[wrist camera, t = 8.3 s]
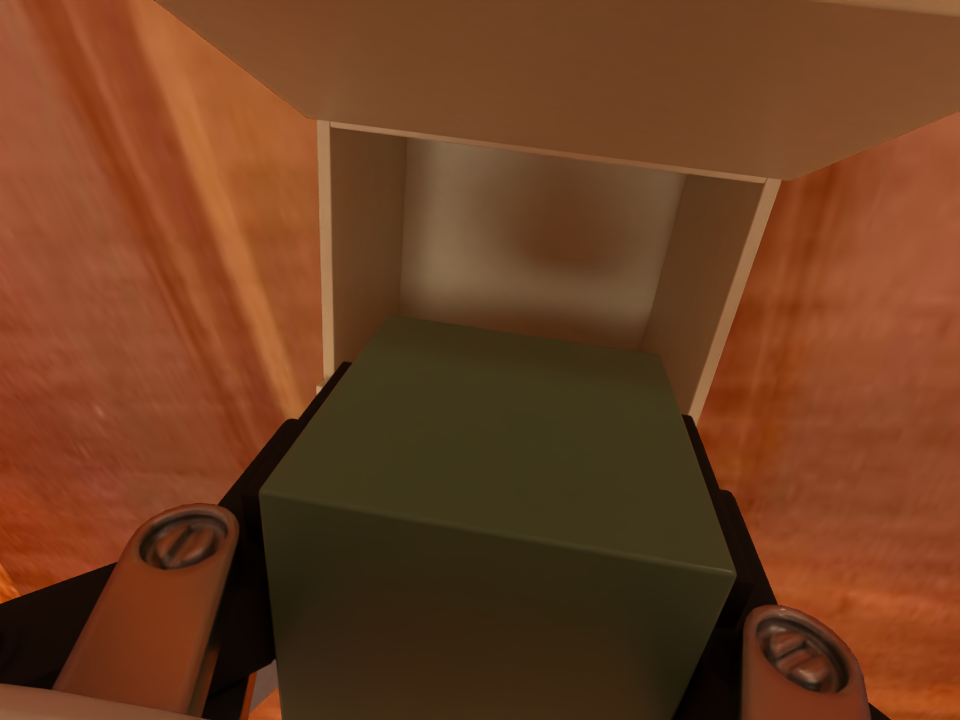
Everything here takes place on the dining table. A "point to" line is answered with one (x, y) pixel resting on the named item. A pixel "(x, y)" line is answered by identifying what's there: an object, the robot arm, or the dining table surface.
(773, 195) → the carton
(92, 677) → the robot arm
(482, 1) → the flap
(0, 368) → the dining table surface
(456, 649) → the block
